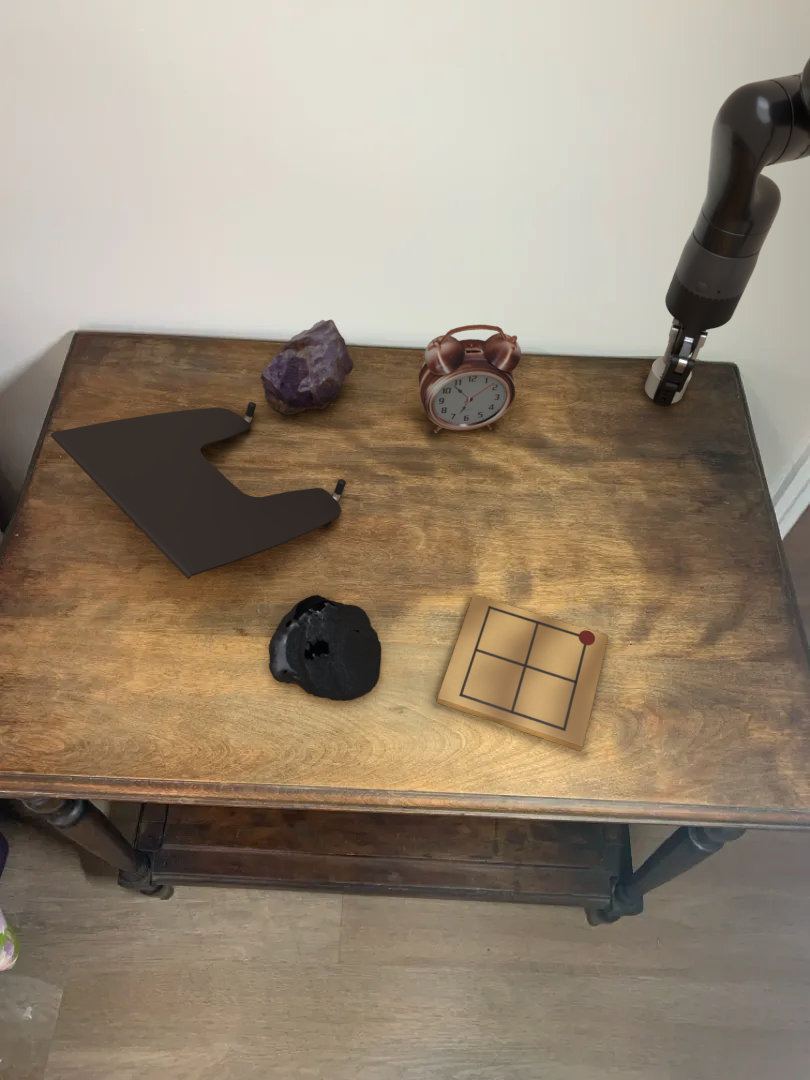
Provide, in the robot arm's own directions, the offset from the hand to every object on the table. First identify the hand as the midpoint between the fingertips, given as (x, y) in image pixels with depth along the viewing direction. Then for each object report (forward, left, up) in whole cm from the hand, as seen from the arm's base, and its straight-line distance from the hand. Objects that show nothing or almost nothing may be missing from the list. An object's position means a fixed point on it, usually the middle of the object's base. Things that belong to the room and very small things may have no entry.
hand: (665, 386), depth 101 cm
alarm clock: (+22, +14, -1) cm, 26 cm away
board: (+7, +43, -1) cm, 44 cm away
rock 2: (+25, +48, -1) cm, 54 cm away
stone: (0, 0, -1) cm, 1 cm away
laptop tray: (+43, +35, -1) cm, 55 cm away
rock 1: (+40, +16, -1) cm, 43 cm away
